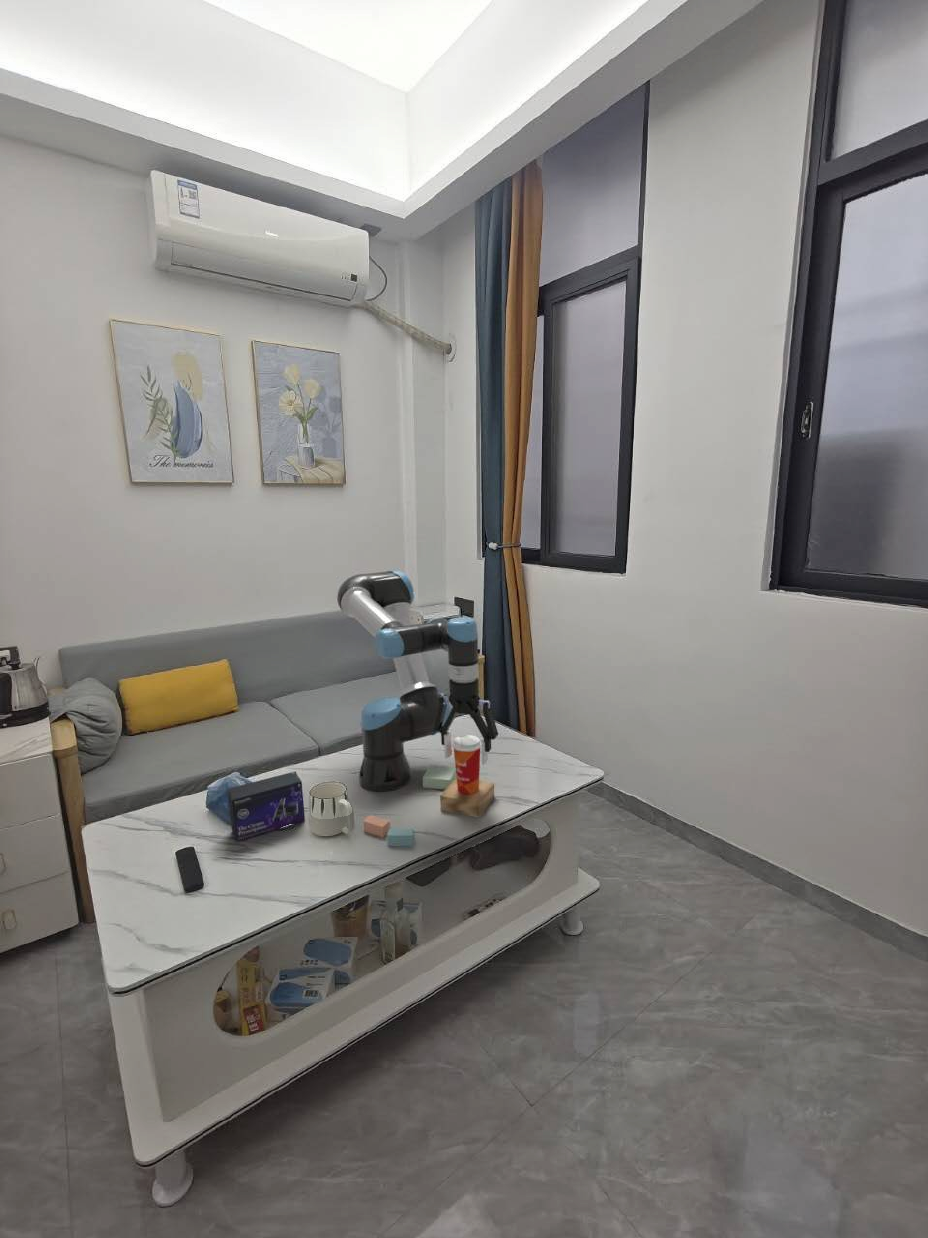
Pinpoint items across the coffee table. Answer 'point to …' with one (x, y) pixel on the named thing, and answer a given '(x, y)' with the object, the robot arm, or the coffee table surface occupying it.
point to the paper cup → (467, 763)
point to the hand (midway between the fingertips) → (466, 759)
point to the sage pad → (439, 777)
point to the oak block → (467, 799)
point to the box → (266, 805)
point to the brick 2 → (400, 837)
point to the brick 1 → (376, 826)
